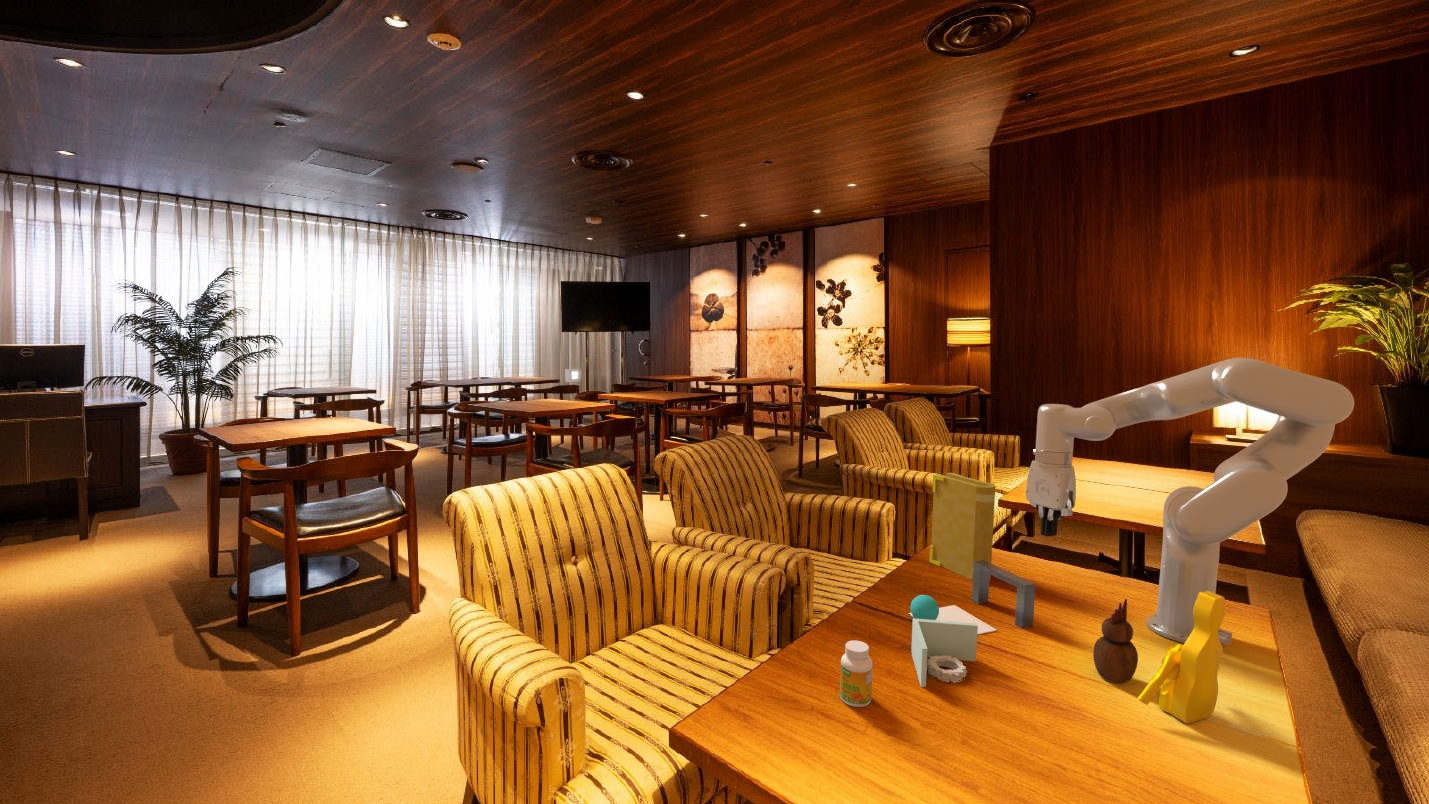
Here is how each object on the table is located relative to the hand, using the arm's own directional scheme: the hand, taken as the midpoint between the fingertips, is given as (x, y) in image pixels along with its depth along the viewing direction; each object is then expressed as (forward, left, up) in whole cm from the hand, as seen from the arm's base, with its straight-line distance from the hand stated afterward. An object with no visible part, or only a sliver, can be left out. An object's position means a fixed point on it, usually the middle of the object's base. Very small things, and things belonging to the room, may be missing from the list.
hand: (1048, 534), depth 142 cm
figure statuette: (-40, +13, -17) cm, 45 cm away
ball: (+2, +33, -14) cm, 36 cm away
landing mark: (0, +27, -17) cm, 32 cm away
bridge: (0, +13, -17) cm, 21 cm away
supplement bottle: (-18, +63, -17) cm, 68 cm away
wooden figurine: (-28, +14, -17) cm, 36 cm away
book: (+24, +3, -17) cm, 30 cm away
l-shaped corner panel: (-16, +42, -18) cm, 48 cm away
